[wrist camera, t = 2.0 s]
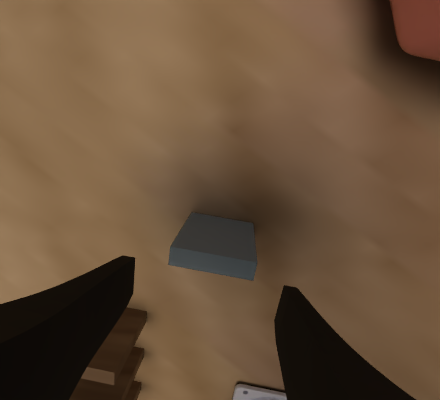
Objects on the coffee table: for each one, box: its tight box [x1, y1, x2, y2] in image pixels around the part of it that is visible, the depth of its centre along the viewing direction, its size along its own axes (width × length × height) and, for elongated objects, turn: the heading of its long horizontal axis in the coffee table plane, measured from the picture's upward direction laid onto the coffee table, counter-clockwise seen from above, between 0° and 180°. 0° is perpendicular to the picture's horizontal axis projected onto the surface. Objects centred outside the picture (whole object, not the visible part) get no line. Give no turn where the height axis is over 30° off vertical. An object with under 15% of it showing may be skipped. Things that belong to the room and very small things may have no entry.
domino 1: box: [81, 307, 147, 385], centre depth 20 cm, size 1×5×6 cm, turn 81°
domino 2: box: [69, 347, 144, 400], centre depth 21 cm, size 1×5×6 cm, turn 81°
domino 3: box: [168, 212, 257, 281], centre depth 17 cm, size 1×5×6 cm, turn 81°
